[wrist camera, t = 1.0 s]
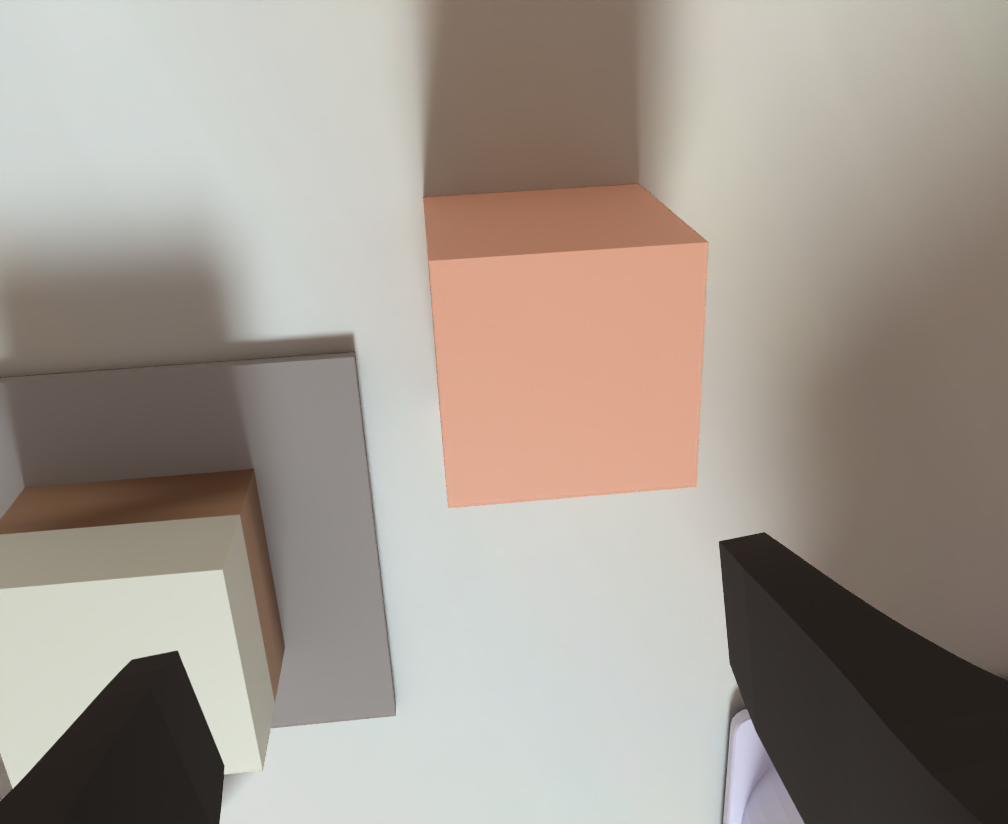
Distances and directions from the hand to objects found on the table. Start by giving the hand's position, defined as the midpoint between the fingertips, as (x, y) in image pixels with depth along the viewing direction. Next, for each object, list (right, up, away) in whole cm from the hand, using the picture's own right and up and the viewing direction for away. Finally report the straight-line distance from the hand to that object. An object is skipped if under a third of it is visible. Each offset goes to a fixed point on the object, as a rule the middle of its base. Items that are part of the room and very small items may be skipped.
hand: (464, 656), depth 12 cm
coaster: (-7, 0, +10) cm, 12 cm away
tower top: (-7, -1, +8) cm, 11 cm away
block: (+1, +6, +8) cm, 10 cm away
